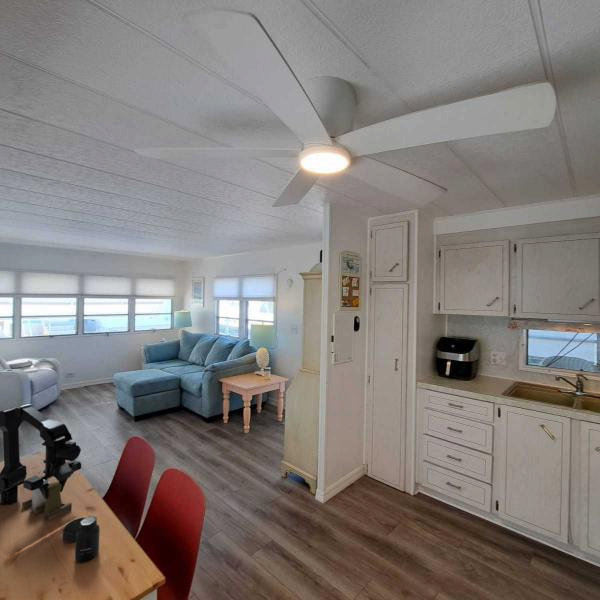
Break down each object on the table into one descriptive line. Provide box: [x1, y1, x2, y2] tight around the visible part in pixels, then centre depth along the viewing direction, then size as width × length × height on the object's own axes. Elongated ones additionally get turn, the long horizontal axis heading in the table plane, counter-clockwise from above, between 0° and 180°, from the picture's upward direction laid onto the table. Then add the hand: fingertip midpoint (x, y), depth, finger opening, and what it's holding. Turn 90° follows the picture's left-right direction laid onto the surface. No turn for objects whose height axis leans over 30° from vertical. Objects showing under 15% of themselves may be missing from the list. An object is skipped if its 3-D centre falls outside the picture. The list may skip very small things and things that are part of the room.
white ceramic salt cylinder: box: [31, 478, 50, 510], centre depth 136 cm, size 6×6×11 cm
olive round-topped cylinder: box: [44, 481, 63, 516], centre depth 133 cm, size 6×6×11 cm
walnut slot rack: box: [21, 497, 72, 522], centre depth 134 cm, size 19×8×3 cm, turn 66°
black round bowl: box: [62, 517, 85, 543], centre depth 121 cm, size 9×9×4 cm
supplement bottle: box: [74, 515, 101, 564], centre depth 111 cm, size 7×7×12 cm
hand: (53, 495), depth 133 cm, fingers open, 5 cm apart
